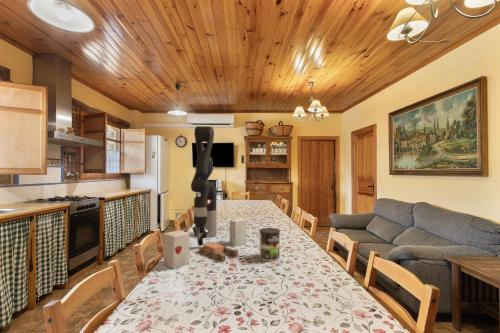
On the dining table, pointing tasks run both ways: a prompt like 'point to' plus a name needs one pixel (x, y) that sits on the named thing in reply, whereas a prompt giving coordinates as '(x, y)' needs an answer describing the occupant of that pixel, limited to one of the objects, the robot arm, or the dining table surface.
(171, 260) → the supplement box
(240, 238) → the skincare box
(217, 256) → the walnut chute
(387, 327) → the dining table surface
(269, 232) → the coffee can
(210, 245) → the terracotta block
